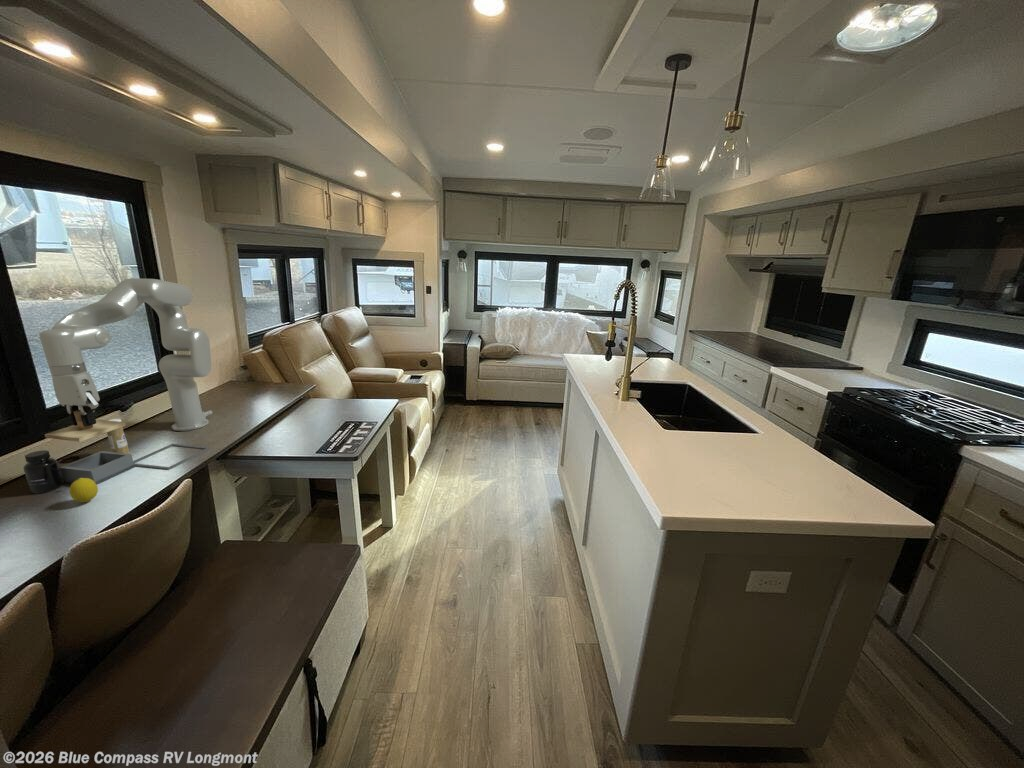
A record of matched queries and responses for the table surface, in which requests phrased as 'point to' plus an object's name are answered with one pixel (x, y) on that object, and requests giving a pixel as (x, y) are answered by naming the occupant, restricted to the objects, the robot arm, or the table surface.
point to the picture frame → (174, 464)
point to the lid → (84, 429)
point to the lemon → (83, 490)
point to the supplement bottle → (42, 472)
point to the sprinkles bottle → (118, 440)
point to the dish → (97, 467)
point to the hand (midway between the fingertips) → (85, 424)
